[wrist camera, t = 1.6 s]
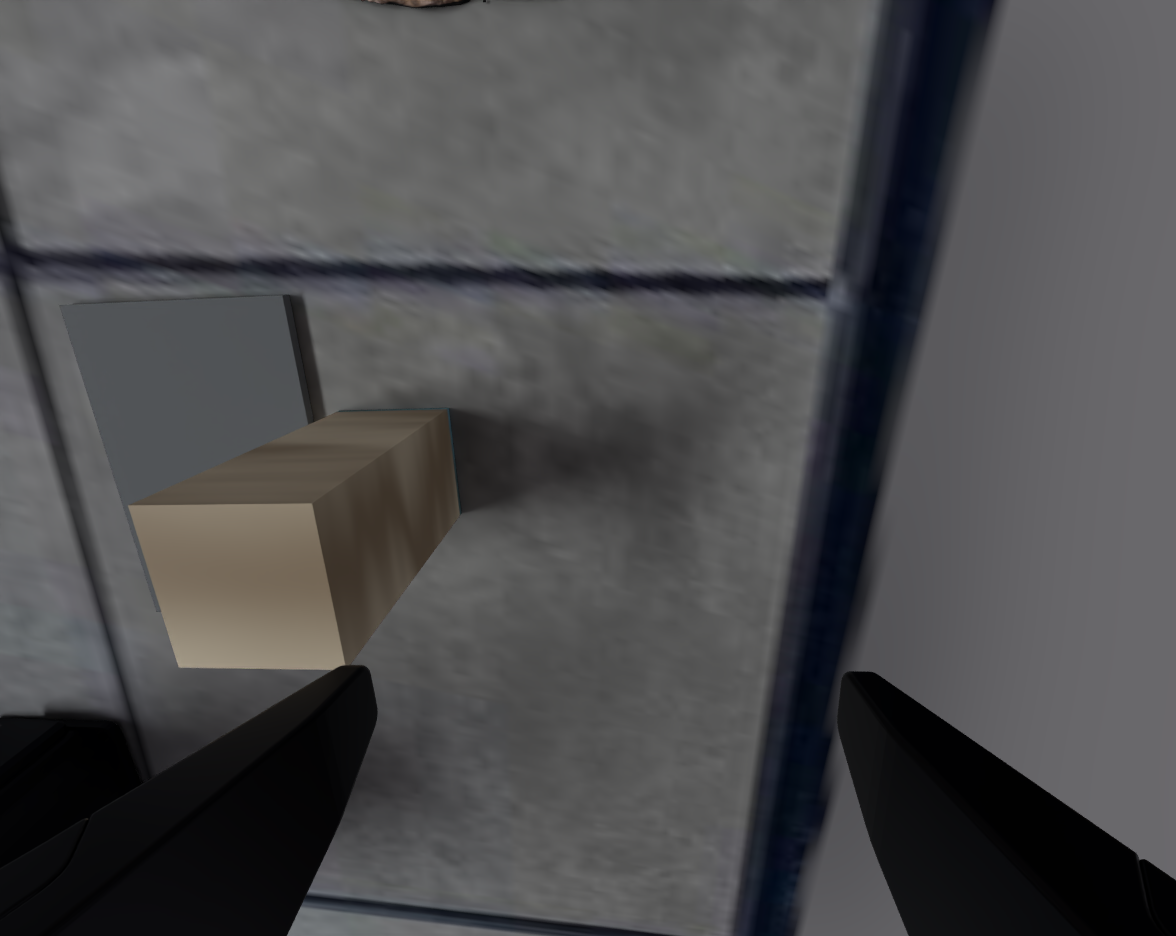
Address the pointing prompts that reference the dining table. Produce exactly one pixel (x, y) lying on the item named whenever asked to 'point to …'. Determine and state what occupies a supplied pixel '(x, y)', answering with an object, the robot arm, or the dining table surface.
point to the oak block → (300, 539)
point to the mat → (187, 385)
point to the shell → (422, 3)
